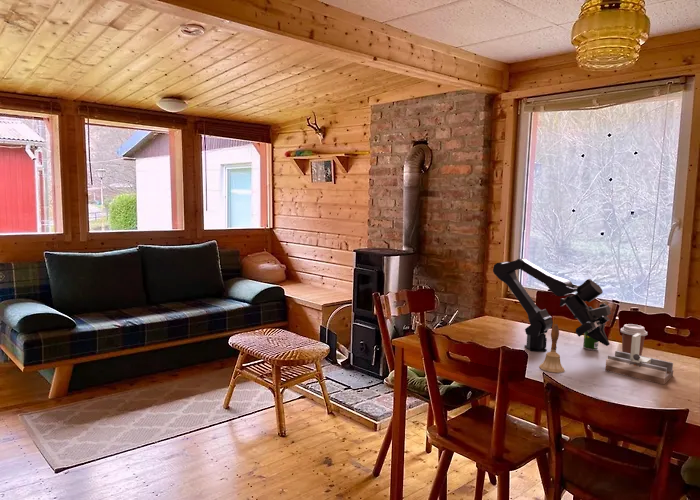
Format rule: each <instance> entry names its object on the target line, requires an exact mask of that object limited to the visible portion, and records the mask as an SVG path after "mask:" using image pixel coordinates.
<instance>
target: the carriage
mask: <svg viewBox="0 0 700 500" xmlns="http://www.w3.org/2000/svg"><path fill="white" fill-rule="evenodd" d="M640 339H641V334H639V333H636V334H635V335H633V336H632V344H631V355H630V360H632V362H637V363H639V362H642V363H647V364H651V359H650V358H651V357H649V358H646V357H647V356H644V357H641V356H642V355H641V356H639V350H640Z"/></svg>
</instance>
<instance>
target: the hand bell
mask: <svg viewBox="0 0 700 500" xmlns="http://www.w3.org/2000/svg"><path fill="white" fill-rule="evenodd" d="M551 328H552V329H551V332H550V338H551V348H550V351H548V352H546V353H545V356H544V357H545V358H544V360H543V362H542V363H541V364H540V365H539V366H538V367H539V369H541V371H545V372H547V373H556V374H561V373H564V372H565V368H564V367H563V365H562V363H561V355H560V354H559V353H558V352H557V343H558V340H559V336H560V329H559V325H558V324H555V323H554V324H553V325H552V327H551Z"/></svg>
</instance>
